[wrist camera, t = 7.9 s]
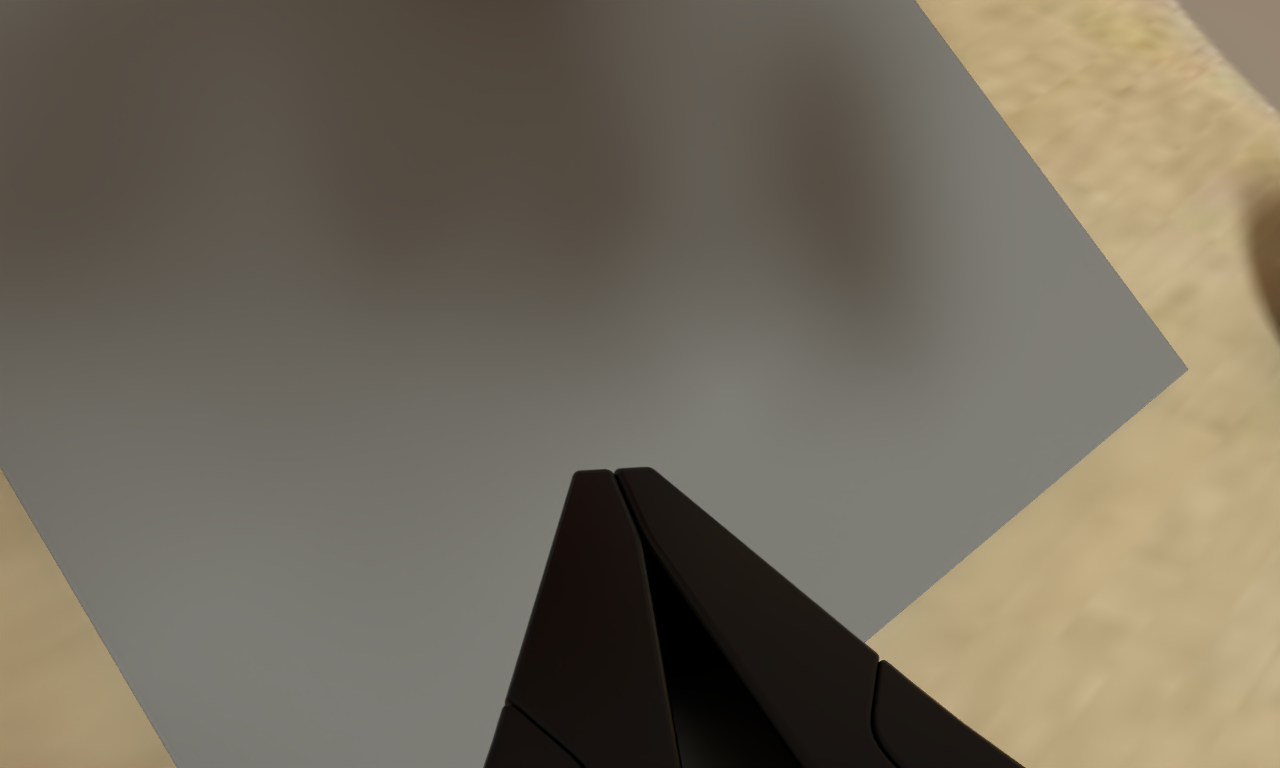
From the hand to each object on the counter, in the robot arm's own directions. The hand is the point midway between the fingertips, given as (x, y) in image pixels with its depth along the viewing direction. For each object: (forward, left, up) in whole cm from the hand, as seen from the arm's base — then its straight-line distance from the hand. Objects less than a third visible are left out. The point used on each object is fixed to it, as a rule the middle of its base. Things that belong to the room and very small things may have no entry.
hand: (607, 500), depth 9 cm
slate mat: (+8, -4, -8) cm, 12 cm away
